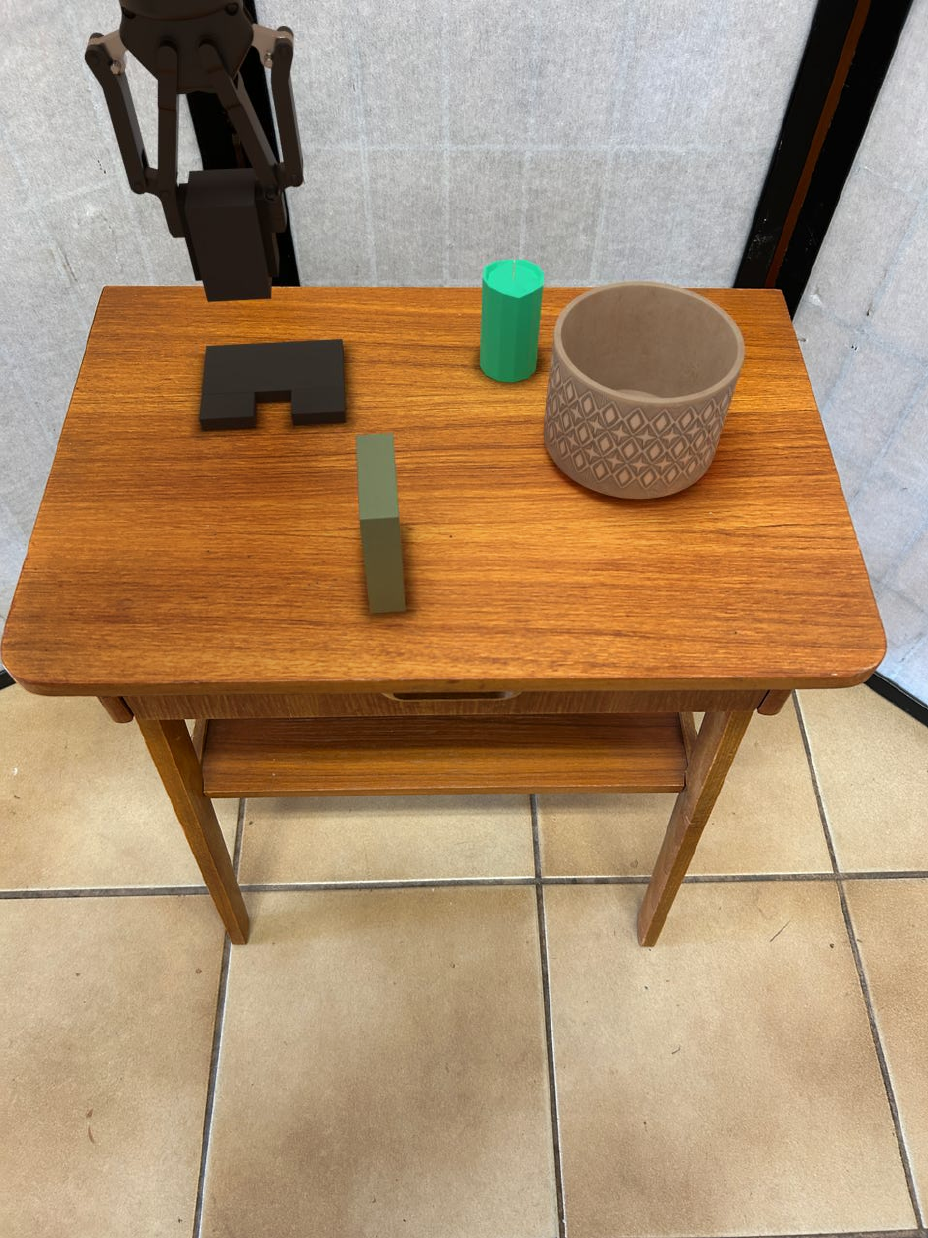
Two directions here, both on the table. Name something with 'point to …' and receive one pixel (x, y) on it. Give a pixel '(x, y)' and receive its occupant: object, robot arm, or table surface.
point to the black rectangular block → (227, 234)
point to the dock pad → (273, 382)
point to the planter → (640, 387)
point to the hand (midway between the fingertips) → (237, 267)
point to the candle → (510, 319)
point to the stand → (380, 522)
